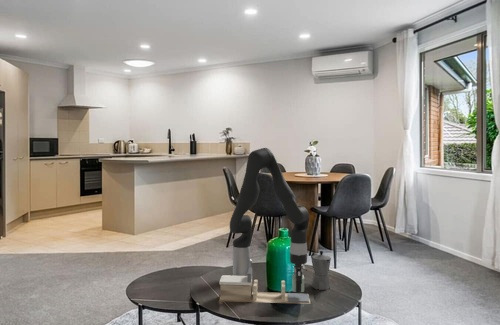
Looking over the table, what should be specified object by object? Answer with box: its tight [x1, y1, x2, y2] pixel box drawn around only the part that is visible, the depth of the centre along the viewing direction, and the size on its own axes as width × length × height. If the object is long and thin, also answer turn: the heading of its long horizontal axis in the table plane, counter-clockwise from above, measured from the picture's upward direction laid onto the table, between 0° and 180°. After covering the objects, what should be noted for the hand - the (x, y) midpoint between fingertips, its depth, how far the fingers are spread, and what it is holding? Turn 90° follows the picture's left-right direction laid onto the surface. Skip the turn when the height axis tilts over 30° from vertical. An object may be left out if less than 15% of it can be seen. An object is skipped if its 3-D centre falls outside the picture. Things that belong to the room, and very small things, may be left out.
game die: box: [301, 264, 308, 275], centre depth 213 cm, size 9×8×10 cm
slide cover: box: [218, 266, 253, 285], centre depth 179 cm, size 9×14×5 cm, turn 86°
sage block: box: [291, 274, 305, 293], centre depth 177 cm, size 5×5×6 cm
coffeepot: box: [310, 250, 332, 291], centre depth 197 cm, size 15×9×18 cm, turn 23°
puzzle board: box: [218, 279, 311, 305], centre depth 179 cm, size 12×40×8 cm, turn 86°
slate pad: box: [287, 292, 310, 302], centre depth 178 cm, size 9×9×1 cm
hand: (298, 289), depth 177 cm, fingers closed on sage block, 5 cm apart
